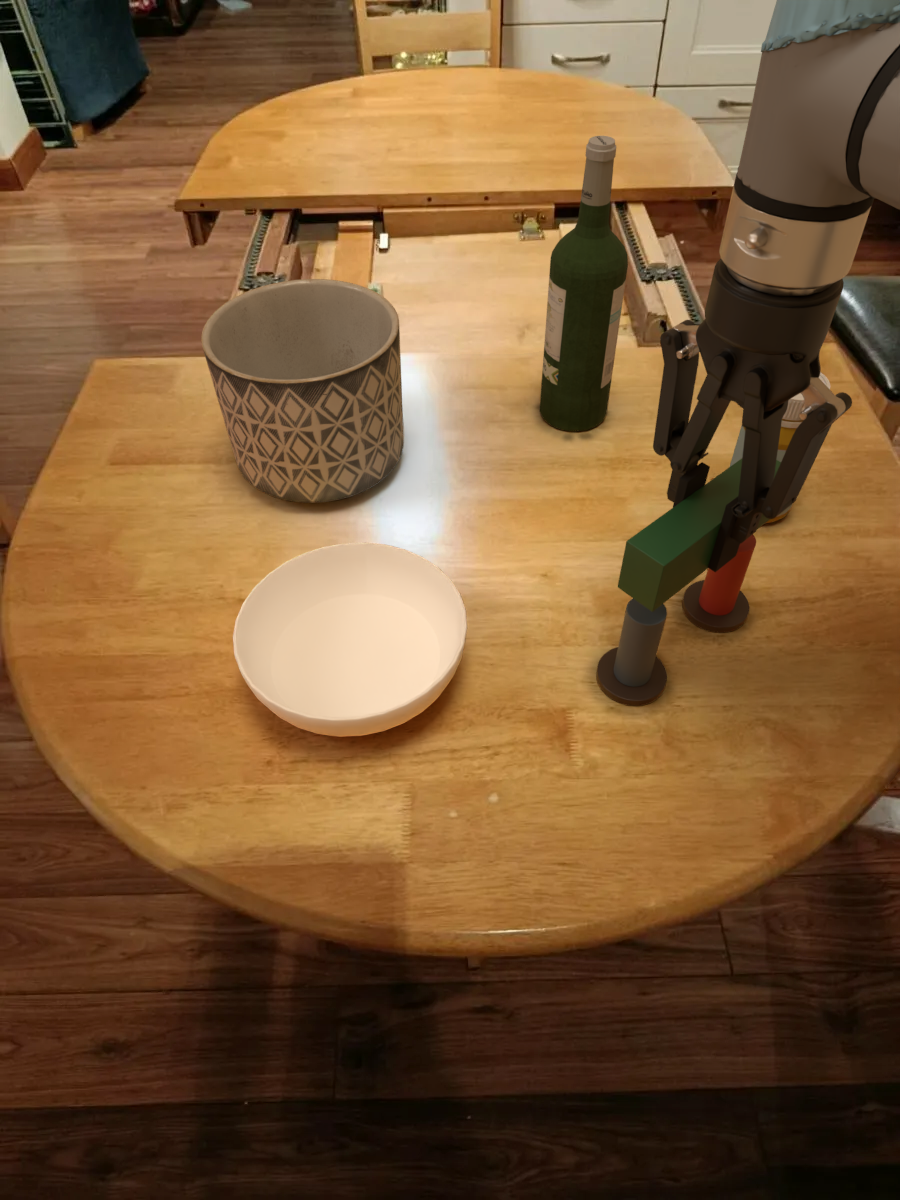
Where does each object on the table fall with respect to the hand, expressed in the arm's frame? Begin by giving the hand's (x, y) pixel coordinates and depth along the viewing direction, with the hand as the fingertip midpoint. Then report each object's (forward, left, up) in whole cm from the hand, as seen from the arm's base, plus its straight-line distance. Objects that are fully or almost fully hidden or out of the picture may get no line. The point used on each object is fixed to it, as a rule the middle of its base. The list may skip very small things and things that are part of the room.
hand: (700, 547), depth 68 cm
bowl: (+17, +23, -12) cm, 31 cm away
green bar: (0, 0, 0) cm, 0 cm away
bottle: (+6, -21, -12) cm, 25 cm away
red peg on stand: (0, -6, -12) cm, 13 cm away
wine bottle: (+30, -19, -12) cm, 37 cm away
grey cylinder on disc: (0, +6, -12) cm, 13 cm away
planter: (+43, +8, -12) cm, 45 cm away
